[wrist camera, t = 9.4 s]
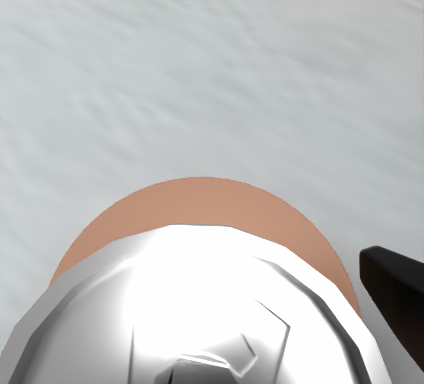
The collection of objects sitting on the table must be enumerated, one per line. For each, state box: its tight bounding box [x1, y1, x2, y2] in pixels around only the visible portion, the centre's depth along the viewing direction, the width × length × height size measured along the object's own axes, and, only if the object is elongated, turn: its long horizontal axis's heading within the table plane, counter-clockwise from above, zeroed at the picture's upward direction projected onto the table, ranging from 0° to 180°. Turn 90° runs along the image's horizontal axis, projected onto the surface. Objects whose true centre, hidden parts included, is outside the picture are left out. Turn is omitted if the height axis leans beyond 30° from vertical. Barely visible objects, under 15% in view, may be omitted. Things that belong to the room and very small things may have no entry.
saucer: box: [48, 177, 362, 321], centre depth 16 cm, size 14×14×1 cm
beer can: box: [0, 223, 392, 384], centre depth 10 cm, size 5×5×12 cm
